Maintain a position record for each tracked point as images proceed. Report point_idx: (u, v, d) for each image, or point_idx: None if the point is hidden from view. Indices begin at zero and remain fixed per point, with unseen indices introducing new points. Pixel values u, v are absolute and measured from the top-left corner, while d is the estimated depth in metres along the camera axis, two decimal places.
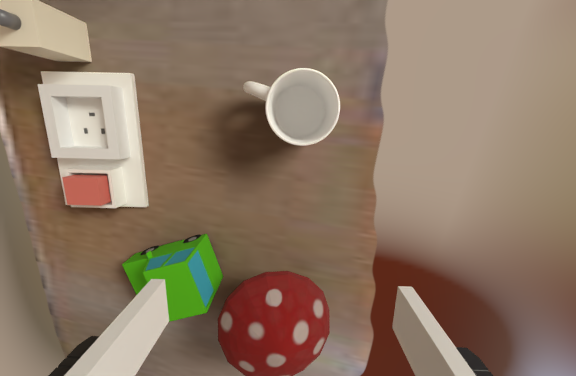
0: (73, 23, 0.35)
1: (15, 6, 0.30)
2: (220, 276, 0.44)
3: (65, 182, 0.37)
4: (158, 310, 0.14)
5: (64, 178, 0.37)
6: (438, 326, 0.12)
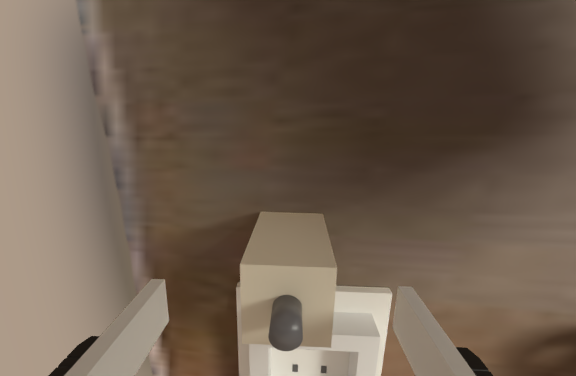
0: None
1: (297, 282, 0.14)
2: None
3: None
4: (158, 310, 0.14)
5: None
6: (438, 326, 0.12)
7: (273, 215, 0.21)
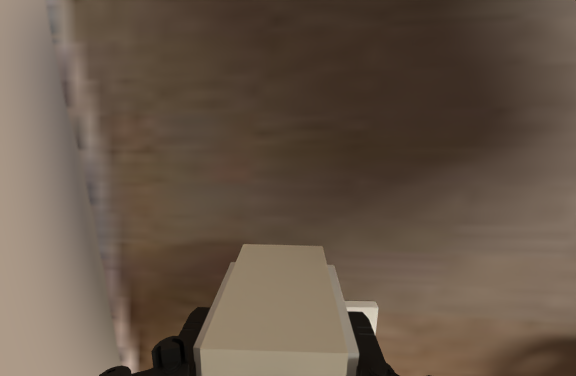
0: None
1: (287, 373, 0.09)
2: None
3: None
4: None
5: None
6: (340, 294, 0.14)
7: (259, 250, 0.16)
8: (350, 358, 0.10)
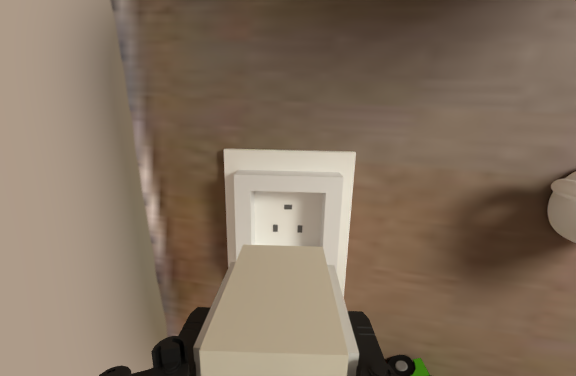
0: None
1: (287, 375, 0.09)
2: None
3: None
4: None
5: None
6: (340, 294, 0.14)
7: (258, 250, 0.16)
8: (350, 358, 0.10)
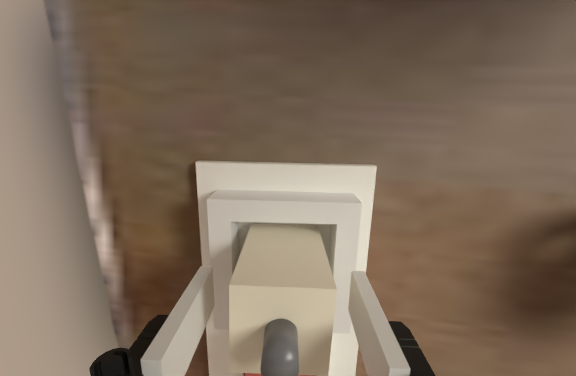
0: None
1: (292, 304, 0.13)
2: None
3: None
4: (208, 294, 0.15)
5: None
6: (377, 303, 0.13)
7: (265, 227, 0.19)
8: (401, 374, 0.10)
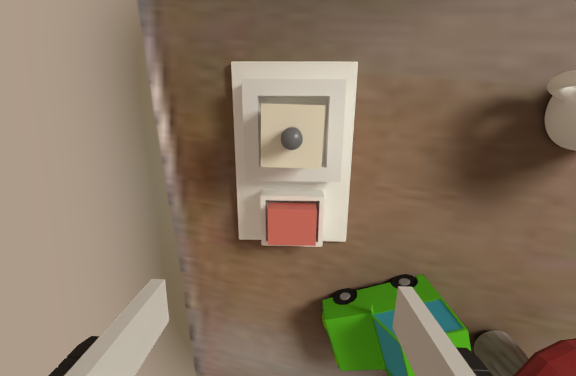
0: None
1: (298, 117, 0.21)
2: None
3: (270, 215, 0.27)
4: (158, 310, 0.14)
5: (270, 210, 0.27)
6: (438, 326, 0.12)
7: None
8: None
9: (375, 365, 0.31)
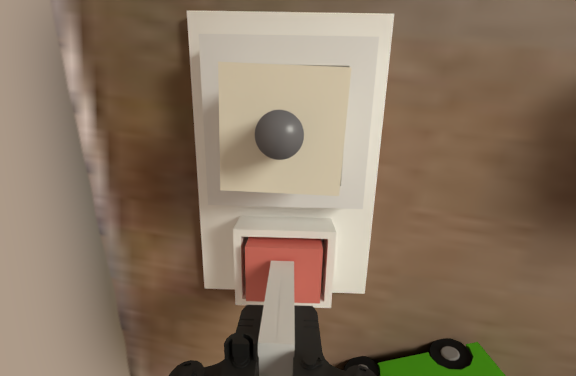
0: None
1: (296, 91, 0.10)
2: None
3: (250, 256, 0.17)
4: None
5: (249, 249, 0.17)
6: (292, 289, 0.14)
7: None
8: (286, 349, 0.11)
9: None
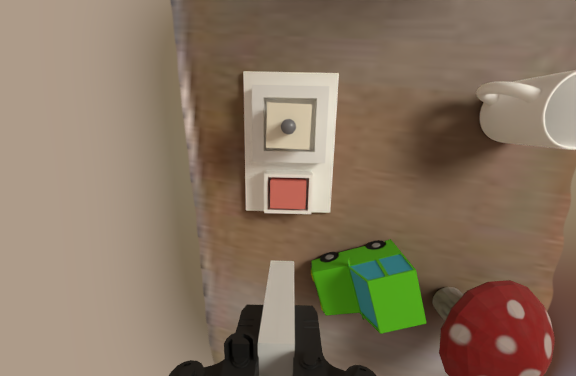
0: None
1: (293, 112, 0.30)
2: None
3: (272, 185, 0.37)
4: None
5: (272, 181, 0.37)
6: (292, 289, 0.14)
7: None
8: (286, 349, 0.11)
9: (352, 309, 0.40)
